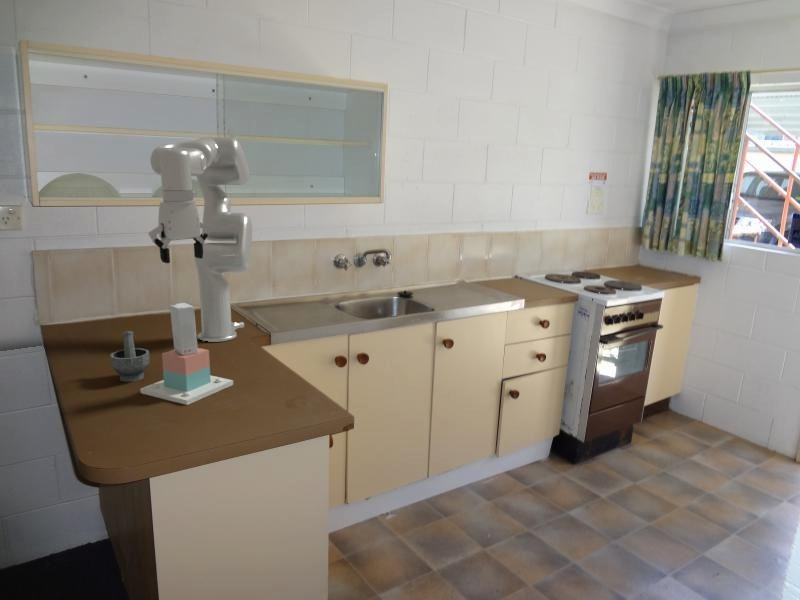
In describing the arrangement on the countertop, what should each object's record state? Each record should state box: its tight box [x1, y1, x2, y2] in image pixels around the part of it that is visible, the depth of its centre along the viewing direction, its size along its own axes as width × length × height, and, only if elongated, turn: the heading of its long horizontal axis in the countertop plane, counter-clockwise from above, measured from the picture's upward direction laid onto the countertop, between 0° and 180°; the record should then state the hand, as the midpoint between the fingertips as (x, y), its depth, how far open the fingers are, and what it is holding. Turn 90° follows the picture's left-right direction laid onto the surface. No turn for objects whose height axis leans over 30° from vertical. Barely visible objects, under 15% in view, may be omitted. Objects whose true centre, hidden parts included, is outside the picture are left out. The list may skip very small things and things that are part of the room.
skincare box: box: [169, 302, 199, 355], centre depth 154 cm, size 6×4×12 cm
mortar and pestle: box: [110, 330, 150, 383], centre depth 164 cm, size 11×9×12 cm
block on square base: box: [139, 347, 234, 406], centre depth 156 cm, size 16×16×10 cm
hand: (182, 260), depth 166 cm, fingers open, 9 cm apart
